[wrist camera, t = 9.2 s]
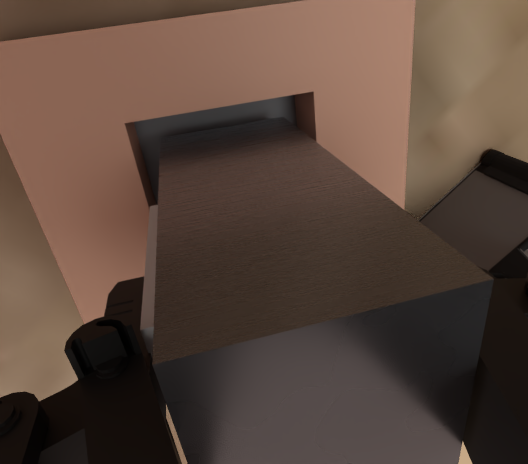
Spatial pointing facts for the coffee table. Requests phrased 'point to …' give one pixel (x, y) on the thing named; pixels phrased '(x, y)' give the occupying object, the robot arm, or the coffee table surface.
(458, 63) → the coffee table surface
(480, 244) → the camera
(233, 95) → the pink square frame
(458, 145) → the coffee table surface
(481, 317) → the grey wood-topped pillar
